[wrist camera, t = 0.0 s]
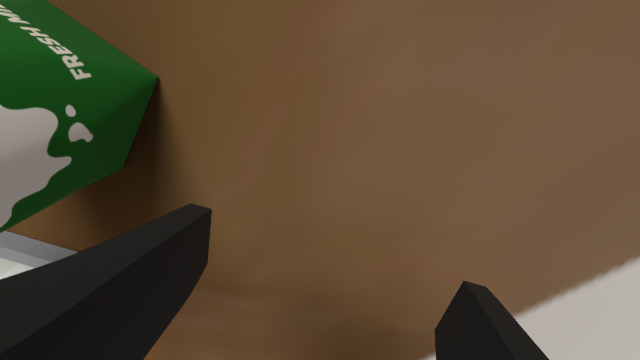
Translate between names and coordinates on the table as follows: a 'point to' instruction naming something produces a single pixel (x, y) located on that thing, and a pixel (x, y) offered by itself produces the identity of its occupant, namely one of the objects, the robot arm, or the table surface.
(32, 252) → the forklift
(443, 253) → the table surface
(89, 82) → the milk carton
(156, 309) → the robot arm
